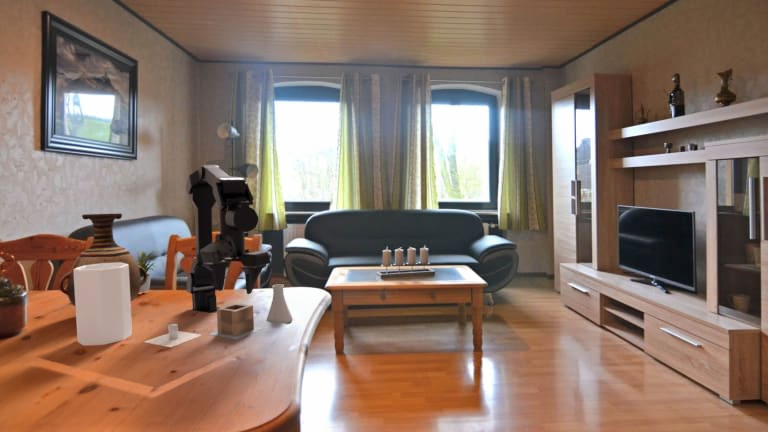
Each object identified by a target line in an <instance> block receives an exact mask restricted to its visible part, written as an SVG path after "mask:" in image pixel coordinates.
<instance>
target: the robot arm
mask: <svg viewBox="0 0 768 432" xmlns="http://www.w3.org/2000/svg"><path fill="white" fill-rule="evenodd" d="M185 185H186V186H185V188H186V189H185V190H186V191H185V192H186V194H187V195H188V200H189V201H190V203H191V205H192V206H193V207H194V219H195V220H194V221H195V223H194V225H195V226H194V227H195V229H194V230H195V258H194V260H193V261H192V263H191V265H190V270H189V273H188V275H187V279H186V280H187V281H186V286H185V287H186V292H188V293H189V294H191V295H192V296H191V297H192V298H191V299H192V301H191V302H192V309H190V311H196V312H202V313H212V312H214V311H215V312H216V311H217V309H219V308H221V307H220V306H217V295H216V291H217V290H218V292H222V291H223V290H224V286H225V281H226V273H227V272H226V271H227V263H228V262H239V263H241V264H242V265H243V266H241V267H240V269H241V271H243V273H244V277H245V278H244V281H245V290H246V291H245V292H246V294H247V295H250V294H252V292H253V290H254V288H255V285H256V283H257V280H258V279H259V276H260V274H261V272H262V271H263V269H264V268H266V267H267V265H268V264H271V255H270V254H269V252H268V251H256V250H255V251H253V252H250V250H249V248H246V237H249V232H251V231H253V230H254V229H255V228H256V227H257V226H258V223H259V215H258V214H257V213H258V212H257V211H256V210H255V209H254V208H252V207H250V206H253V205H254V196H253V194H252V191H251V188H250V187H249V185H248V183H247V181H246V179H245V178H243V177H240V176H230V175H229V174H227V173H226V172H225V171H224V170H222V169H221V168H220V166H219V165H217V164H202V165H199V166H198V168H197V170H195V171H194V172H193V173H191V174H189V175H188V178H187V180H186V183H185ZM216 203H217V206H218V210H219V211H218V213H219V233H216V235H215V240H214V241H213V208H214V206H215V204H216Z"/></svg>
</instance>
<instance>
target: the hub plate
mask: <svg viewBox="0 0 768 432" xmlns="http://www.w3.org/2000/svg"><path fill="white" fill-rule="evenodd" d="M262 329H264V328H263V327H257V326H254V329H253V330H251V331H248V332H246V333H244V334H241V335H239V336H231V335H225V334H219V333H218V330H216V331H214V332H211V333H208V335H209V336H214V337H215V336H216V337H221V338H228V339H231V340H232V339H233V340H239V339H241V338H243V337H246V336H248V335H250V334H253V333H255V332H258V331H260V330H262Z"/></svg>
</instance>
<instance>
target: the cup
mask: <svg viewBox="0 0 768 432" xmlns="http://www.w3.org/2000/svg"><path fill="white" fill-rule="evenodd" d="M73 272H74V289H75V306H74V307H75V321H76V335H77V336H76V337H77V343H79V344H81V345H82V346H104V345H108V344H111V343H117V342H121V341H124V340H126V339H127V338H129V337H130V336H131V335H133V326H132V325H133V323H132V307H131V302H132V301H130V282H129V265H128V264H125V263H100V264H92V265H84V266H81V267H77V268H75V269H73Z"/></svg>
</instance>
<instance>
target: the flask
mask: <svg viewBox="0 0 768 432" xmlns="http://www.w3.org/2000/svg"><path fill="white" fill-rule="evenodd" d="M284 287H285V285H284V284H282V283H281V284H278V283H277V284H273V285H272V286H271V289H272V292H273V293H272V294H273V295H272V301H271V304H270V307H269V311H268V314H267V316H266V320H265V321H266V322H273V323H280V324H288V323H291V322H292V321H293V316H292V313H291V311H290V308H289V306H288V304H287V303H288V302H287V301H286V298H285V295H284Z"/></svg>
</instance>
